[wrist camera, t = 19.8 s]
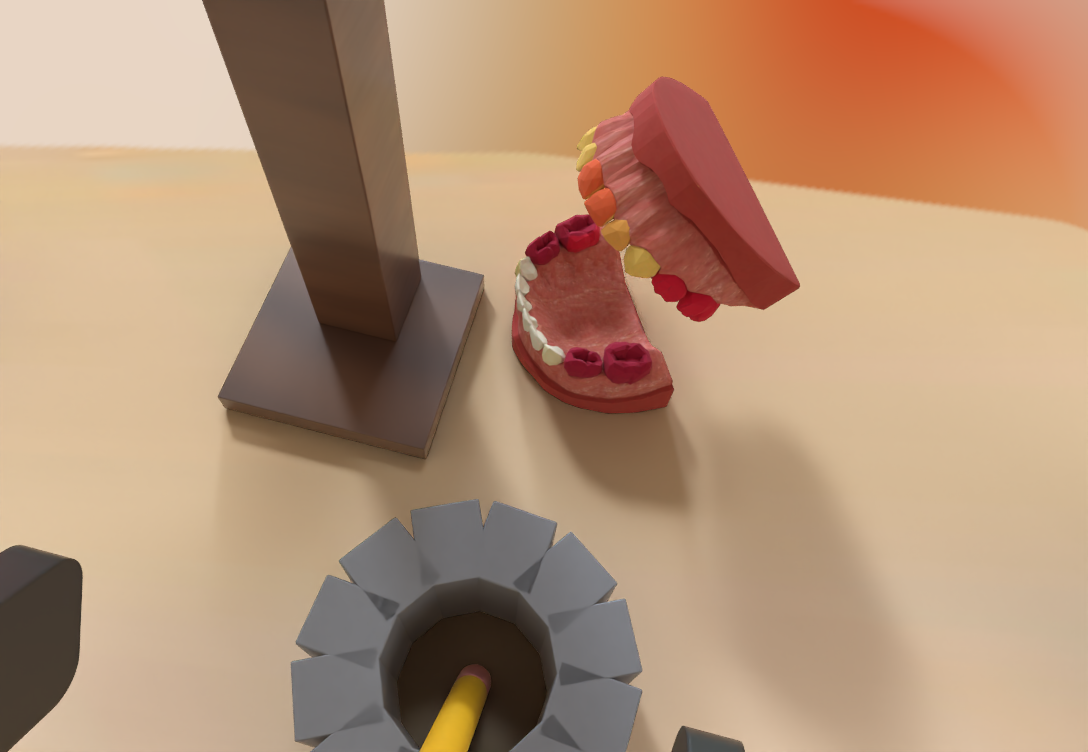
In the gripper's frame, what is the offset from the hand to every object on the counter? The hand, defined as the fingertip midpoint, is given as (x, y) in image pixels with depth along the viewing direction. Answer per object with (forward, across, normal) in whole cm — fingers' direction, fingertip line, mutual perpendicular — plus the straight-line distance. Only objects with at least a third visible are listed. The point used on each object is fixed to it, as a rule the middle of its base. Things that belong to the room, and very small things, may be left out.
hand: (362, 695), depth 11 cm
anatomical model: (+33, -2, +2) cm, 33 cm away
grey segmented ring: (+20, 0, +15) cm, 25 cm away
